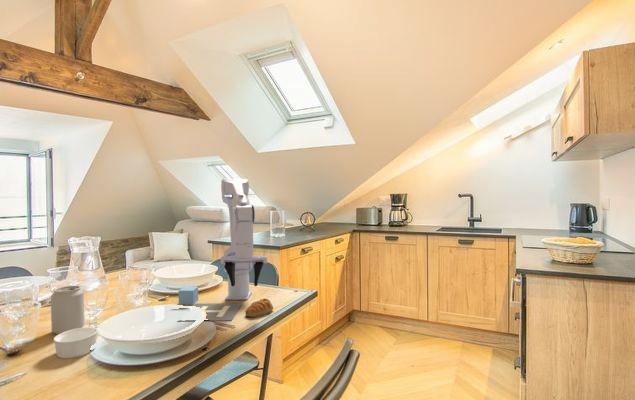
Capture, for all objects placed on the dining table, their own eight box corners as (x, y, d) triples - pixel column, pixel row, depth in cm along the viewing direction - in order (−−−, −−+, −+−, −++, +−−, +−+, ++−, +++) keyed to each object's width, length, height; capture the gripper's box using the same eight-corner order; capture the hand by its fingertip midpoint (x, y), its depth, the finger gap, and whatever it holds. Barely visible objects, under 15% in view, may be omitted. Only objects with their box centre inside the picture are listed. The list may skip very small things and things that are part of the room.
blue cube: (184, 300, 125) (183, 286, 125) (198, 300, 125) (198, 286, 125) (178, 305, 120) (178, 290, 120) (193, 305, 120) (193, 290, 120)
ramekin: (64, 363, 80) (64, 344, 80) (47, 354, 84) (46, 336, 84) (105, 348, 87) (104, 331, 87) (87, 341, 92) (86, 324, 92)
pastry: (257, 320, 106) (256, 307, 106) (239, 316, 109) (239, 304, 109) (274, 310, 114) (274, 299, 114) (258, 307, 118) (257, 296, 117)
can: (90, 327, 101) (89, 285, 101) (64, 337, 94) (63, 292, 94) (72, 324, 104) (71, 283, 103) (45, 334, 96) (43, 290, 96)
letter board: (195, 304, 121) (195, 303, 121) (242, 303, 121) (242, 303, 121) (177, 321, 105) (177, 320, 105) (231, 320, 105) (231, 320, 105)
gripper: (217, 245, 109) (218, 289, 109) (265, 244, 109) (265, 288, 109) (223, 241, 116) (224, 283, 116) (268, 241, 116) (268, 282, 116)
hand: (244, 285), depth 113 cm, fingers open, 7 cm apart
